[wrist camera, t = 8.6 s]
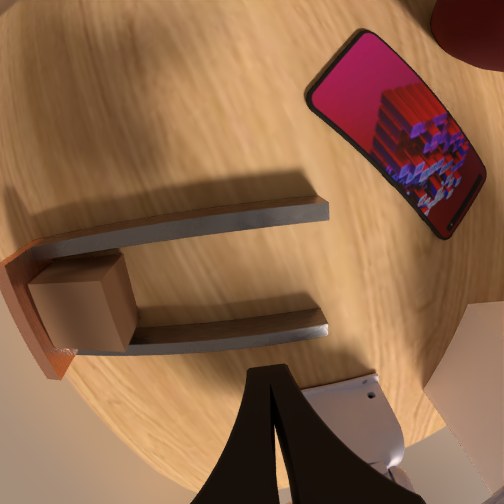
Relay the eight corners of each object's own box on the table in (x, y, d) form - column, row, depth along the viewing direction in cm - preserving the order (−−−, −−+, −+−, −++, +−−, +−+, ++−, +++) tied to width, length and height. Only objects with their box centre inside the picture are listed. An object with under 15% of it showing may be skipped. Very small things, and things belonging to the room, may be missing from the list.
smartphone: (367, 24, 12) (489, 173, 16) (361, 28, 13) (483, 171, 17) (300, 102, 14) (445, 246, 18) (297, 103, 15) (439, 242, 19)
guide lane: (318, 195, 17) (349, 216, 12) (320, 319, 20) (341, 365, 15) (32, 240, 16) (-8, 268, 12) (71, 339, 20) (47, 378, 15)
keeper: (124, 253, 17) (100, 280, 14) (140, 316, 19) (125, 351, 15) (56, 259, 17) (27, 284, 13) (76, 317, 19) (54, 347, 15)
